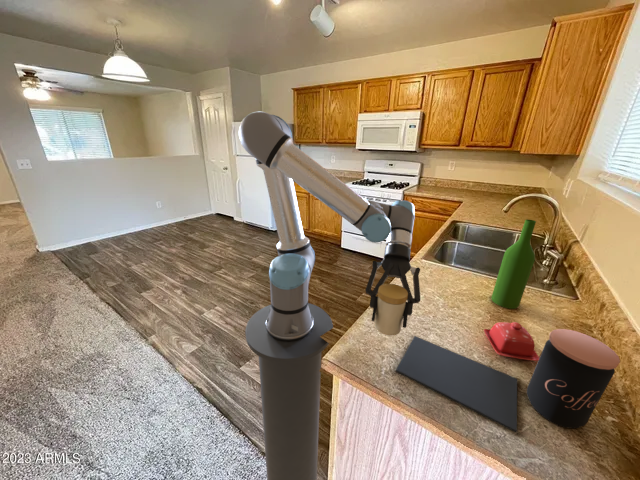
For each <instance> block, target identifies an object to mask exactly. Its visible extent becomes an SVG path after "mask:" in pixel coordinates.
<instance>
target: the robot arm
mask: <svg viewBox="0 0 640 480" xmlns="http://www.w3.org/2000/svg"><path fill="white" fill-rule="evenodd" d="M238 137H239V141H240V144H241V146H242V147H243V149H244V150H245V152H247V153H248V154H249V155H250V156H251V157H253V159H254V160H255V164H256V166H257V167H258V168H260V169H261V170H262V171H263V172H262V173H263V176H264V180H265V184H266V188H267V193H268V197H269V201H270V205H271V210H272V214H273V218H274V222H275V227H276V232H277V237H278V240H279V241H278V243H276V245H275V246H276V247H275V248H276V250H277V255H278V256H276V257H275V258H273V259H272V260H271V262H270V265H269V270H268V277H269V289H270V305H271V308H270V311H269V315H268V318H267V321H266V329H267V332H268V334H269V335H270V336H271V337H272V338H274V339H276V340H279V341H284V342H293V341H298V340H301V339H303V338H305V337H306V336H308V335H309V334H310V333H311V331H312V329H313V317H312V315H311V313H310V309H309V306H308V303H309V284H310V280H311V275H312V272H313V268H314V267H315V263H316V255H315V250H314V248H313V247H312V245H311V240H310V238H309V237H307V236H305V234H304V233H305V232H304V228H303V224H302V218H301V213H300V209H299V203H298V199H297V193H296V189H295V183H296V184H297V185H298V186H300V188H302V189H303V190H305V191H306V192H307V193H309V194H310V195H311V196H313V197H314V198H316V199H317V200H319V201H320V202H321V203H322V204H324V205H325V206H327V207H328V208H329V209H331V210H332V211H333V212H335V213H336V214H337V215H339V216H340V217H342V218H343V219H344V220H346V221H347V222H349V223H350V224H351V225H352V226H354V227H355V228H356V229H358V230H359V231H360V232H361V234H362V235H363V236H364V238H365V239H366V240H367V241H369V242H371V243H382V242H384V241H385V248H384V254H383V259H382V260H381V261H377V260H373V261H372V269H371V272H370V275H369V277H368V281H367V284H366V287H365V294H366V295H368V296H370V301H369V308H370V309H372V314H371V322H375V314H376V307H377V300H378V289H379V287H380V286H381V285H383V284H385V282H386V281H387V279H388V277H389V278H396V279H400V282H401V285H402V287H403V288H405V289H406V290H407V292H408V298H407V301H406V306H405V311H404V316H403V322H402V328H404V329H406V328H407V325H408V316H409V317H411V316H412V314H413V308H414V305H415V304H419V303H420V302H421V289H420V288H421V287H420V273H421V268H420V267H418V266H417V267H414V266H412V265H411V251H412V250H411V248H412V243H413V231H414V223H415V219H416V216H415V214H416V213H415V212H416V210H415V205H414V204H413V203H412V202H410V201H409V200H395V201H394V202H392V203H391V204H387V203H383V202H379V201H374V200H370V199H368V198H364V197H363V196H361V195H360V194H359V193H358V192H356V191H355V190H353V189H352V188H351V187H350V186H348V185H347V184H346V183H345V182H343V181H341V179H340V178H338V177H337V176H336V175H334V174H333V173H332V172H330V171H329V170H327V168H325V167H323V166H322V165H321V164H320V163H319V162H317V161H315V159H313V158H312V157H311V156H309V155H308V154H306V152H304V151H303V150H302V149H300V148H299V147H297V146H296V145H295V144H294V140H293V133H292V131H291V127H290V126H289V124H288V123H287V122H286V121H285V120H284V119H283V118H282V117H280V116H278V115H275V114H270V113H268V112H265V111H259V110H258V111H253V112H250V113H249V114H247V115H246V116H244V117H243V119H242V120H241V122H240V124H239V128H238ZM380 267H382V270H383V271H384V272H383V274H382V275H381V277H380V278H379V280H378V282H377V283H376V285H375V286H374V287H373V284H374V282H375V278H376V275H377V270H379V269H380ZM409 271H410V274H411V275H412V285H413V294H412V292H411V288H410V284H409V283H408V280H407V275H406V274H408V273H409ZM372 287H373V289H372Z"/></svg>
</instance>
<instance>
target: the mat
mask: <svg viewBox="0 0 640 480" xmlns="http://www.w3.org/2000/svg"><path fill="white" fill-rule="evenodd" d="M395 372H396V373H398V374H400V375H401V376H404V377H406V378H408V379H410V380H412V381H414V382H416V383H418V384H420V385H422V386H424V387H426V388H427V389H429V390H432V391H433V392H436V393H437V394H439V395H441V396H442V397H445V398H447V399H449V400H451V401H453V402H455V403H457V404H459V405H461V406H463V407H465V408H467V409H469V410H471V411H472V412H474V413H476V414H479V415H481V416H483V417H484V418H487V419H488V420H491V421H493V422H494V423H496V424H498V425H501V426H503V427H505V428H506V429H508V430H510V431H512V432H514V433H517V431H518V378H516V377H514V376H512V375H509V374H507V373H505V372H502V371H499V370H498V369H495V368H492V367H490V366H488V365H484V364H482V363H480V362H478V361H476V360H473V359H471V358H468V357H466V356H463V355H461V354H458V353H456V352H454V351H452V350H449V349H447V348H445V347H442V346H440V345H437V344H435V343H433V342H430V341H428V340H425V339H423V338H421V337H418V336H415V335H414V336H413V338H412V340H411V342H410V344H408V347H407V349H406V350H405V352H404V354H403V356H402V358H401V360H400V362H399V364H398V365H397V367H396V369H395Z"/></svg>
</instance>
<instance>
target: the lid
mask: <svg viewBox="0 0 640 480" xmlns="http://www.w3.org/2000/svg"><path fill="white" fill-rule="evenodd" d="M377 296H379V298H380V299H381V300H383V301H385V302H387V303H390V304H403V303H405V302H407V298H408V292H407V290H406V289H405V288H403V286H401V285H399V284H396V283H384V284H383V285H381V286H380V287H379V289H378V293H377Z"/></svg>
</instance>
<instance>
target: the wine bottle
mask: <svg viewBox="0 0 640 480" xmlns="http://www.w3.org/2000/svg"><path fill="white" fill-rule="evenodd" d="M536 223H537V221H536V220H533V219H528V218H527V219H525V220H524V223H523V226H522V229H521V232H520V234H519V238H518V240H516V242H514V243H513V244H512V245H511V246H509V247H507V248H506V250H505V251H504V254H503V257H502V261H501V264H500V267H499V270H498V274H497V276H496V281H495V284H494V287H493V290H492V293H491V297H490V298H491V301H492V302H493V303H494V304H495V305H497V306H499V307H502V308H505V309H511V310H514V309H515V310H516V309H518V308H519V306H520V304H521V301H522V298H523V296H524V293H525V290H526V287H527V284H528V281H529V278H530V275H531V273H532V269H533V266H534V263H535V261H536V254H535V251H534V250H533V247H532V244H531V239H532V236H533V233H534V230H535V226H536Z"/></svg>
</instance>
